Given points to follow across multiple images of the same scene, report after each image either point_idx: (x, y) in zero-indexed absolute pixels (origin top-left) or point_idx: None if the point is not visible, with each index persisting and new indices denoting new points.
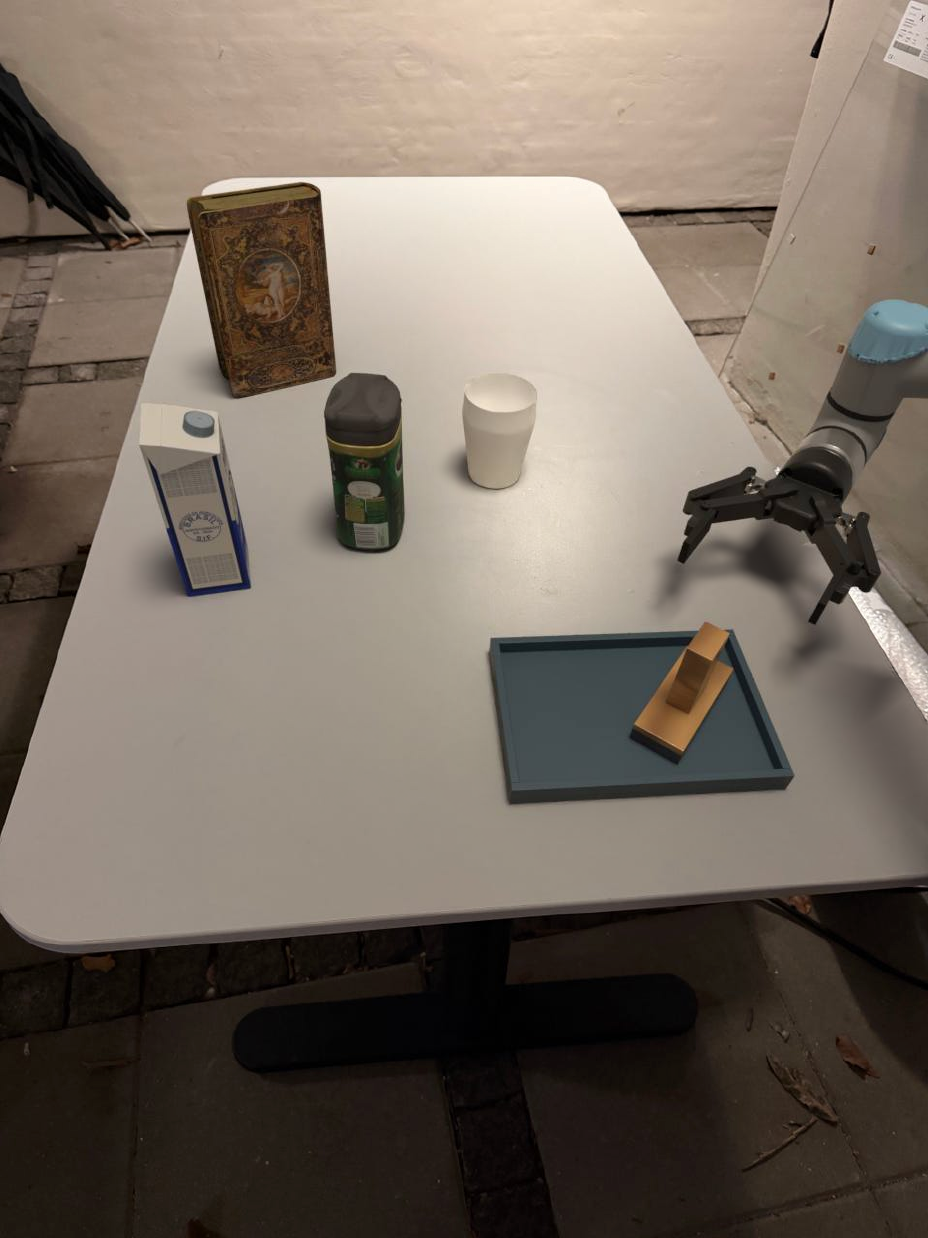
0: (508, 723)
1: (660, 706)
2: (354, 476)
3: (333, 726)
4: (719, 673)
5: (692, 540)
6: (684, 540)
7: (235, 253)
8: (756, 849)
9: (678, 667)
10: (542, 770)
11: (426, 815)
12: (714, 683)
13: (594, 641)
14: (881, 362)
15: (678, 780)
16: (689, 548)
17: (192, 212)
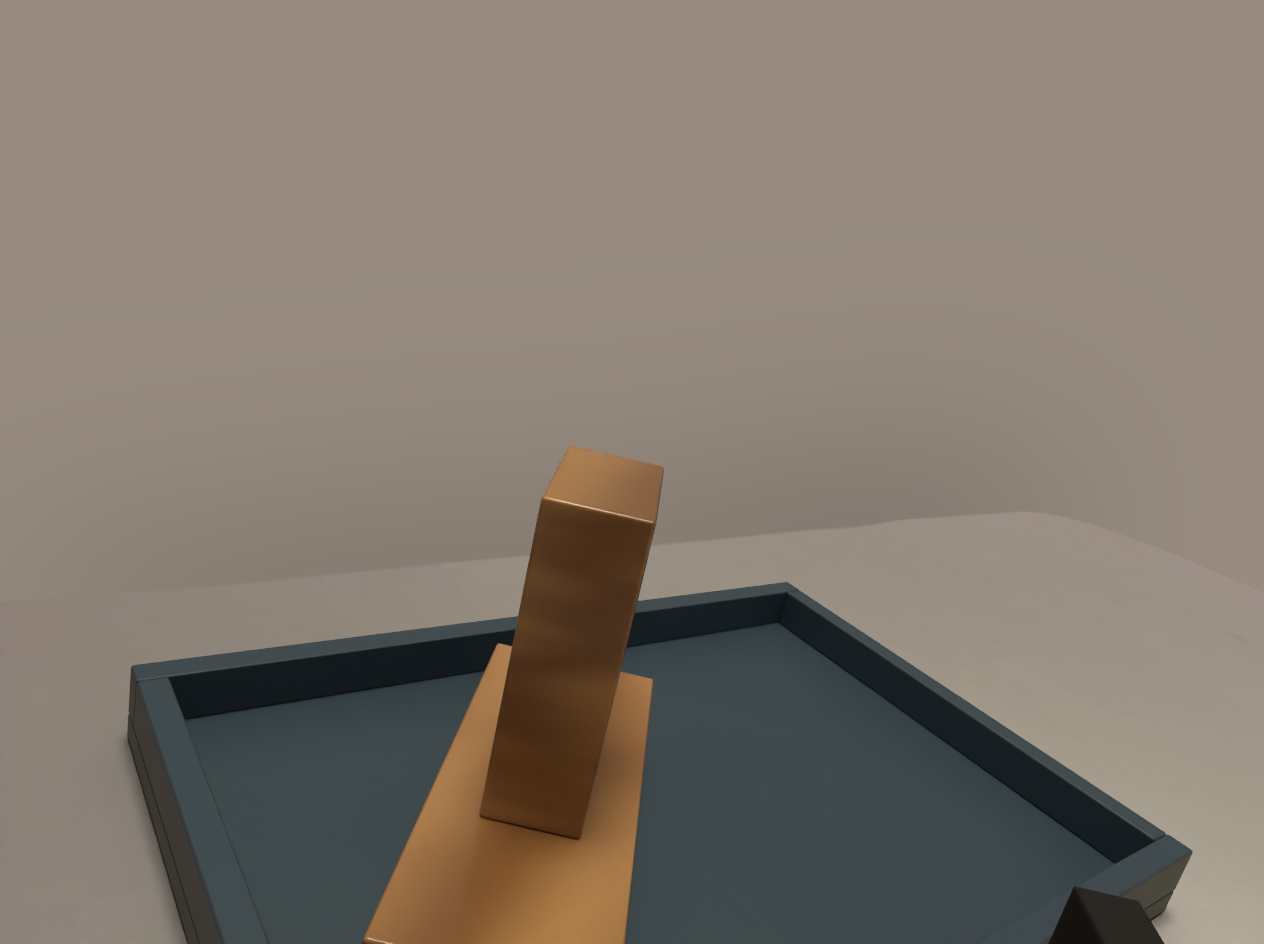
0: (904, 668)
1: (607, 727)
2: None
3: (1138, 684)
4: (431, 890)
5: (1103, 926)
6: (1142, 911)
7: None
8: (250, 620)
9: (611, 869)
10: (767, 654)
11: (869, 604)
12: (445, 844)
13: None
14: None
15: (485, 622)
16: (1058, 939)
17: None
